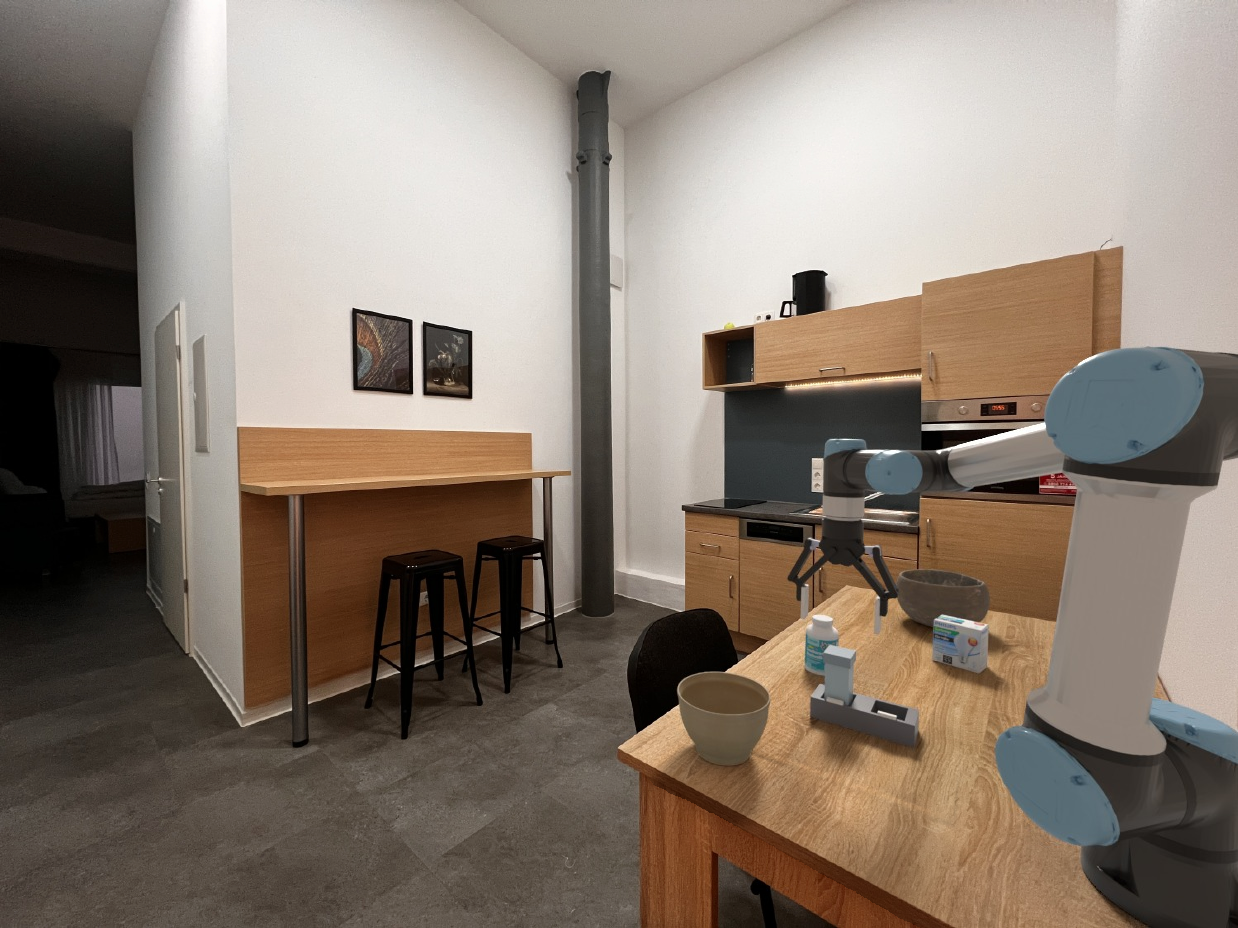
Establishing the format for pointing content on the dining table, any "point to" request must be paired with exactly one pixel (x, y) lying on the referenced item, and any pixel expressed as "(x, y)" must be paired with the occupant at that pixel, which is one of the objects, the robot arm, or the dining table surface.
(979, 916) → the dining table surface
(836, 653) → the plug
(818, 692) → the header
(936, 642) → the light bulb box
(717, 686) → the planter bowl
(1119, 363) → the robot arm
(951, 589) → the bowl
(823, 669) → the pill bottle
